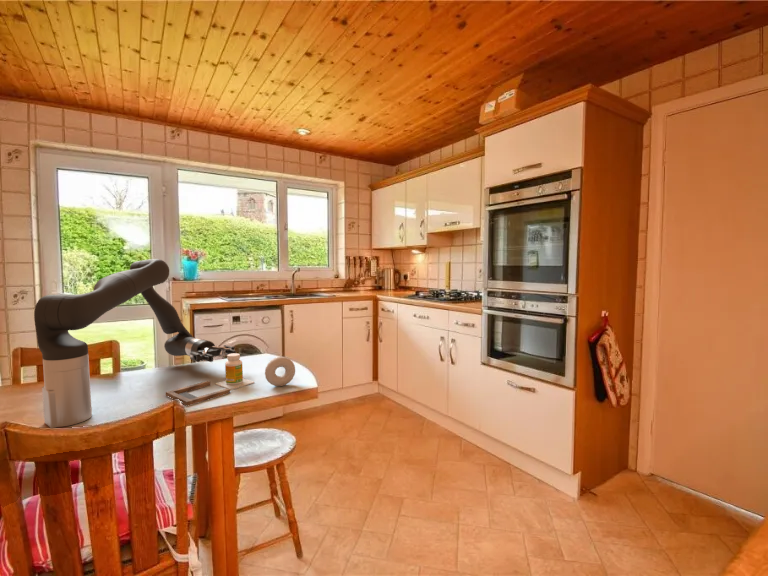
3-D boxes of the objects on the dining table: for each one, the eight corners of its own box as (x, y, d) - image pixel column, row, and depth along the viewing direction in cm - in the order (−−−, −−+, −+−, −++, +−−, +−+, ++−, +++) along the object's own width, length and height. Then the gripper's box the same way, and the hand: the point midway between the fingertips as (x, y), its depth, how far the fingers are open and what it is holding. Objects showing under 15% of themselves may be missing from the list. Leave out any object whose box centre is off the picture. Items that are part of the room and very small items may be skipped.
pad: (230, 390, 125) (230, 388, 125) (215, 384, 131) (215, 383, 131) (254, 383, 132) (254, 381, 132) (239, 377, 138) (239, 376, 138)
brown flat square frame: (187, 406, 112) (187, 401, 112) (165, 395, 120) (165, 391, 120) (230, 392, 123) (230, 389, 123) (207, 384, 131) (207, 380, 131)
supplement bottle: (236, 385, 128) (236, 357, 127) (222, 384, 129) (221, 356, 128) (245, 380, 133) (245, 353, 133) (231, 379, 134) (231, 352, 134)
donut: (266, 389, 126) (265, 359, 125) (264, 386, 129) (263, 357, 128) (296, 385, 130) (296, 356, 129) (294, 382, 133) (293, 354, 132)
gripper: (180, 342, 139) (203, 349, 129) (218, 336, 150) (242, 342, 140) (181, 363, 139) (204, 371, 129) (218, 355, 151) (242, 362, 141)
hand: (223, 356), depth 135 cm, fingers open, 8 cm apart
